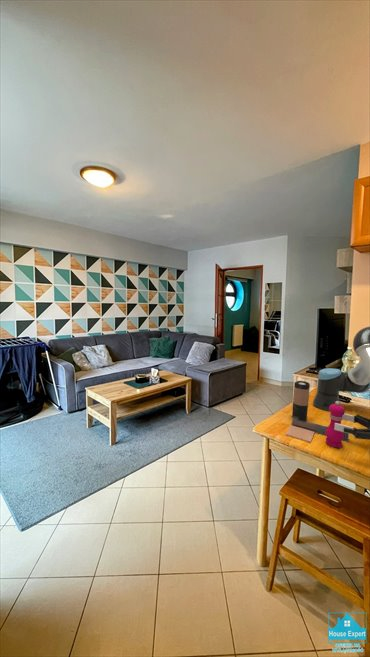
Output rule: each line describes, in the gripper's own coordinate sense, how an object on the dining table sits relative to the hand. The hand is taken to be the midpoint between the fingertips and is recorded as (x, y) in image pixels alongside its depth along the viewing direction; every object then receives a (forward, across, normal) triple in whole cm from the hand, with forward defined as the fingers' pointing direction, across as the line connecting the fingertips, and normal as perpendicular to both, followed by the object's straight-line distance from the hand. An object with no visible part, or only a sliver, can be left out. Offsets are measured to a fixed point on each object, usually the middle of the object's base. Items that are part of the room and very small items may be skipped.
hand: (335, 420), depth 114 cm
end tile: (+14, +1, -11) cm, 18 cm away
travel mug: (+18, +19, -12) cm, 28 cm away
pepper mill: (0, 0, -12) cm, 12 cm away
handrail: (+7, +8, -11) cm, 16 cm away
